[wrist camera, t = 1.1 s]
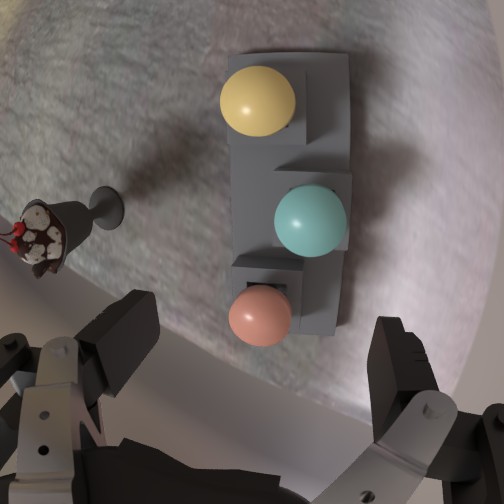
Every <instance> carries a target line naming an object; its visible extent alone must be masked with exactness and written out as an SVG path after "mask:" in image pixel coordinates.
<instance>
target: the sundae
mask: <svg viewBox="0 0 504 504" xmlns="http://www.w3.org/2000/svg"><path fill="white" fill-rule="evenodd" d="M122 218H123V206H122V202H121V200H120V198H119V196H118V195H117V193H116V192H114V191H113V190H112V189H110V188H108V187H100V188H98V189H96V190H95V191H94V192H93V194H92V196H91V198H90V203H89V209H88V208H87V207H86V206H85V205H84V204H82V203H81V202H78V201H70V202H63V203H58V204H50V205H47V204H46V203H45V202H43V201H42V200H40V199H35V200H32V201H31V202H29V203H28V205H27V206H26V207H25V209H24V210H23V212H22V216H21V217H20V222H17V223H15V224H14V226H13V231H12V232H10V233H8V234H0V235H3V236H7V235H11V234H12V233H14V234H15V235H16V237H15V238H14V239H12V240H11V241H10V243H9V242H7V241H5V240H3V239H1V238H0V240H2V241H4V242H6V243H7V244H9V245H10V249H11V251H13V252H14V253H16V252H17V254H18V256H19V257H20V259H21V260H23V261H25V262H27V263H29V264H34V265H33V267H32V269H31V271H32V272H33V274H34V276H35V277H36V278H37V279H40V278H41V276H42V275H43V274H44V273H45V272H46V271H49V272H52V273H54V274H55V273H57V271H60V269H61V268H62V267H63V265H64V262H65V259H66V256H67V255H68V254H69V253H70V252H71V251H72V250H74V249H75V248H76V247H77V246H79V245H80V244H81V243H82V242H83V241H84V240H85V239H86V238H87V237H88V236H89V235H90V233H91V231H92V226H93V220H94V222H95V223H96V224H97V225H98V226H99V227H100V228H102V229H105V230H113V229H115V228H116V227H118V226H119V224H120V223H121V220H122Z"/></svg>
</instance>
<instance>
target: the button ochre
mask: <svg viewBox="0 0 504 504" xmlns="http://www.w3.org/2000/svg"><path fill="white" fill-rule="evenodd" d="M220 107H221V111H222V114H223V116H224V118H225V120H226V121H227V123H228V124H229V125H230V126H231V127H232V128H233V129H234V130H236V131H238V132H239V133H242V134H244V135H248V136H257V137H263V136H270V135H273V134H276V133H278V132H279V131H281V130H283V129H284V128H285V127H286V126H287V125H288V124H289V122H290V121H291V120H292V118H293V116H294V113H295V108H296V98H295V94H294V91H293V89H292V87H291V85H290V84H289V82H288V81H287V79H286V78H285V77H284V76H283V75H282V74H281V73H279V72H278V71H276V70H274V69H272V68H269V67H265V66H251V67H247V68H244V69H241V70H239V71H238V72H236V73H235V74H233V75H232V76H231V77H230V78H229V79H228V81H227V82H226V83H225V85H224V87H223V89H222V92H221V97H220Z"/></svg>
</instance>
